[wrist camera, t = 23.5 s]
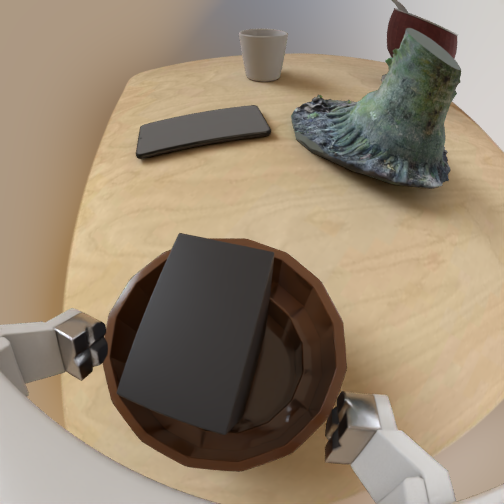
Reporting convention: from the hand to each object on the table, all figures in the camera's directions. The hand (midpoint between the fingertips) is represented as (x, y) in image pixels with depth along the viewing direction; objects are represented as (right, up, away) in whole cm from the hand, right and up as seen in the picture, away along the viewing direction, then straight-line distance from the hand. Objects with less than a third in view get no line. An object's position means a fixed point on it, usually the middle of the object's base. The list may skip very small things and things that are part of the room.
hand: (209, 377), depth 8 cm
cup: (+4, +34, +32) cm, 47 cm away
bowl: (0, -3, +8) cm, 9 cm away
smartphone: (-5, +18, +21) cm, 28 cm away
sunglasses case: (0, -3, +8) cm, 8 cm away
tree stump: (+16, +17, +21) cm, 31 cm away
